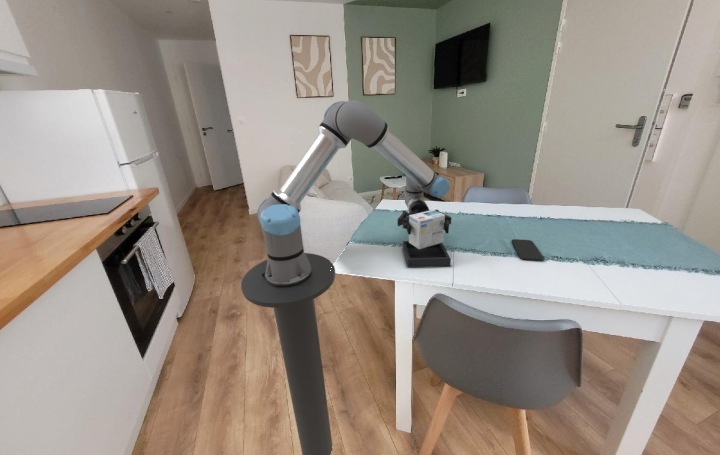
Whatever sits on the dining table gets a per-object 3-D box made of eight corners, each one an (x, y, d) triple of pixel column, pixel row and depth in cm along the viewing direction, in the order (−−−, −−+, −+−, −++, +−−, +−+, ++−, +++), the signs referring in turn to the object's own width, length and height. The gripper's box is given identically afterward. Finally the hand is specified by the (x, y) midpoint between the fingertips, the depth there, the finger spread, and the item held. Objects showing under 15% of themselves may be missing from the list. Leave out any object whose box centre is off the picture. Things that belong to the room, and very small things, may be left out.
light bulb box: (431, 236, 108) (433, 208, 104) (443, 242, 102) (446, 214, 98) (407, 242, 104) (408, 214, 100) (419, 250, 98) (420, 220, 94)
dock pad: (407, 267, 99) (407, 259, 98) (402, 248, 112) (402, 241, 111) (450, 266, 98) (450, 258, 97) (440, 247, 112) (440, 240, 111)
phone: (520, 257, 100) (510, 238, 113) (520, 259, 100) (510, 240, 114) (544, 259, 98) (531, 240, 112) (544, 261, 99) (531, 242, 112)
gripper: (447, 216, 118) (463, 239, 98) (388, 218, 119) (392, 241, 99) (448, 198, 115) (466, 218, 95) (388, 201, 116) (392, 221, 96)
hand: (428, 230), depth 97 cm, fingers closed on light bulb box, 12 cm apart
